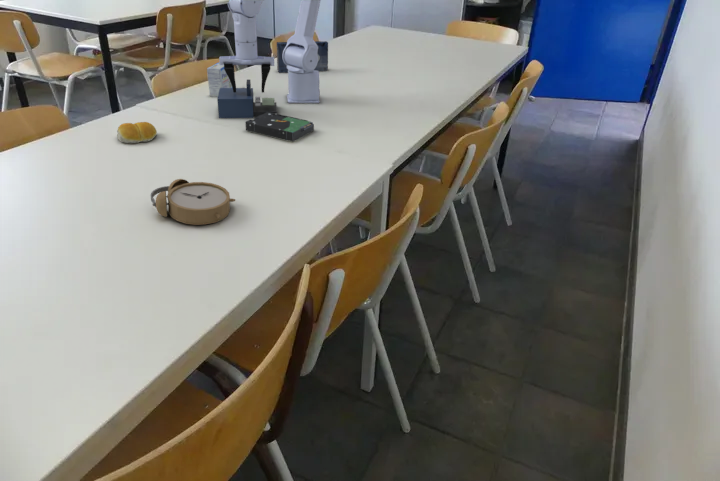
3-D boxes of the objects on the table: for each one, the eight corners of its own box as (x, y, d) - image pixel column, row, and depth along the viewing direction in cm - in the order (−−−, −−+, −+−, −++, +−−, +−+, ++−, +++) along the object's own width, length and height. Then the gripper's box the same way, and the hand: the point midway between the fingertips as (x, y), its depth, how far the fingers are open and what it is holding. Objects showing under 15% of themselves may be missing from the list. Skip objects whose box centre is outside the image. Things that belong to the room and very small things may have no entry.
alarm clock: (216, 215, 97) (137, 191, 97) (214, 238, 99) (137, 215, 100) (240, 189, 106) (167, 167, 107) (237, 210, 109) (166, 189, 110)
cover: (253, 106, 160) (252, 76, 156) (253, 118, 151) (251, 87, 147) (221, 106, 159) (218, 76, 154) (219, 118, 150) (216, 87, 145)
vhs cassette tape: (326, 69, 202) (326, 40, 197) (328, 71, 199) (328, 42, 194) (276, 70, 196) (276, 41, 191) (278, 72, 194) (277, 43, 189)
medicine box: (223, 98, 166) (220, 69, 161) (209, 96, 166) (206, 67, 162) (233, 91, 172) (231, 63, 168) (220, 89, 173) (217, 61, 168)
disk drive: (245, 132, 142) (293, 143, 136) (244, 121, 140) (293, 132, 135) (267, 121, 150) (314, 130, 145) (267, 111, 148) (314, 120, 143)
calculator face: (274, 97, 158) (273, 96, 158) (274, 106, 152) (274, 105, 151) (255, 97, 158) (255, 96, 157) (255, 106, 151) (255, 105, 151)
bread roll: (161, 140, 134) (158, 124, 132) (122, 146, 130) (119, 130, 127) (151, 129, 140) (149, 114, 138) (114, 135, 135) (111, 119, 133)
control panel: (276, 107, 160) (276, 97, 159) (277, 117, 153) (276, 106, 151) (224, 107, 158) (223, 97, 157) (222, 117, 150) (221, 106, 149)
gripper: (216, 43, 141) (221, 95, 148) (273, 44, 143) (275, 95, 150) (218, 37, 147) (222, 88, 154) (273, 38, 149) (275, 88, 156)
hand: (248, 91), depth 152 cm, fingers open, 7 cm apart
